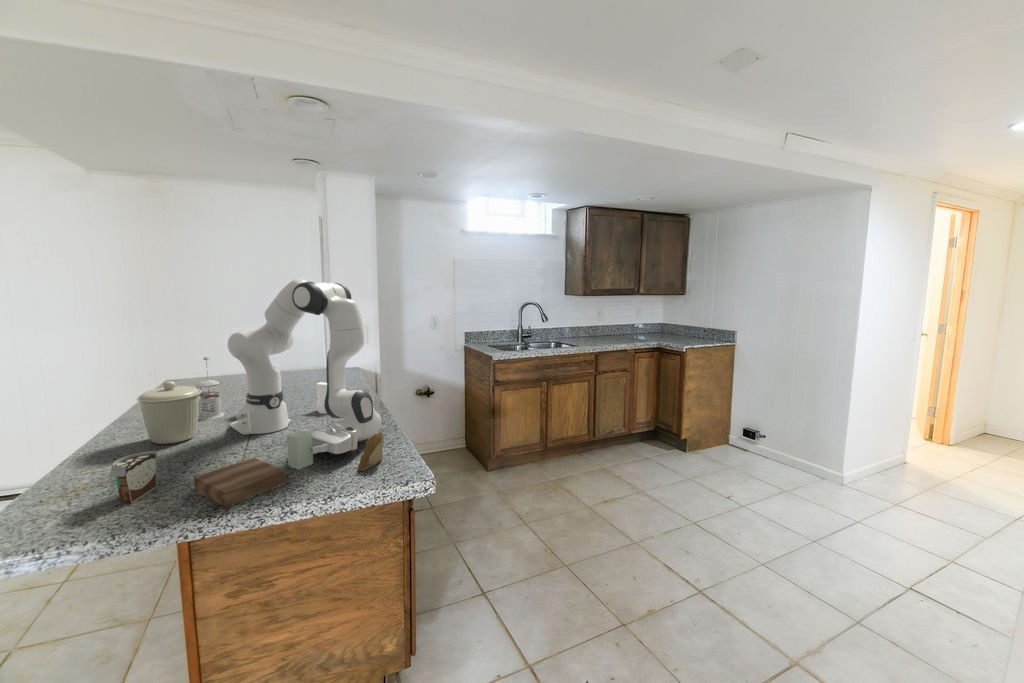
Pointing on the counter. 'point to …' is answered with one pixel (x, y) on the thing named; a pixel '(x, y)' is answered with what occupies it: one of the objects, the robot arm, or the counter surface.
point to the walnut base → (239, 481)
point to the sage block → (299, 449)
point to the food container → (135, 475)
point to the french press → (209, 400)
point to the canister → (170, 412)
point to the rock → (372, 452)
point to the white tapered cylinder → (321, 397)
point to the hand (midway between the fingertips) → (302, 447)
